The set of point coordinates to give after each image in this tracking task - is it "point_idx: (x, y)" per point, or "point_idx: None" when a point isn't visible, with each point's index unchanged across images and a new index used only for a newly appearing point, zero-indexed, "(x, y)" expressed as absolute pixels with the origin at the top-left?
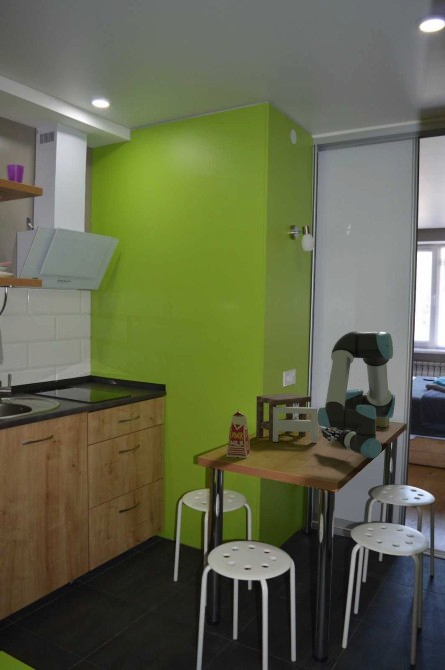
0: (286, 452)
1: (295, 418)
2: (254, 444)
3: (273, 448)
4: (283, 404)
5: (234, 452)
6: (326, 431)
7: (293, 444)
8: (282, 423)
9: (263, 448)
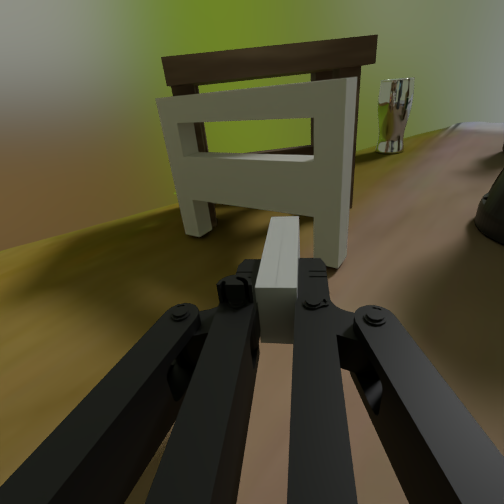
0: (78, 343)
1: (386, 144)
2: (117, 241)
3: (110, 283)
4: (204, 80)
5: None
6: (157, 358)
7: (231, 262)
8: (198, 170)
9: (83, 275)
